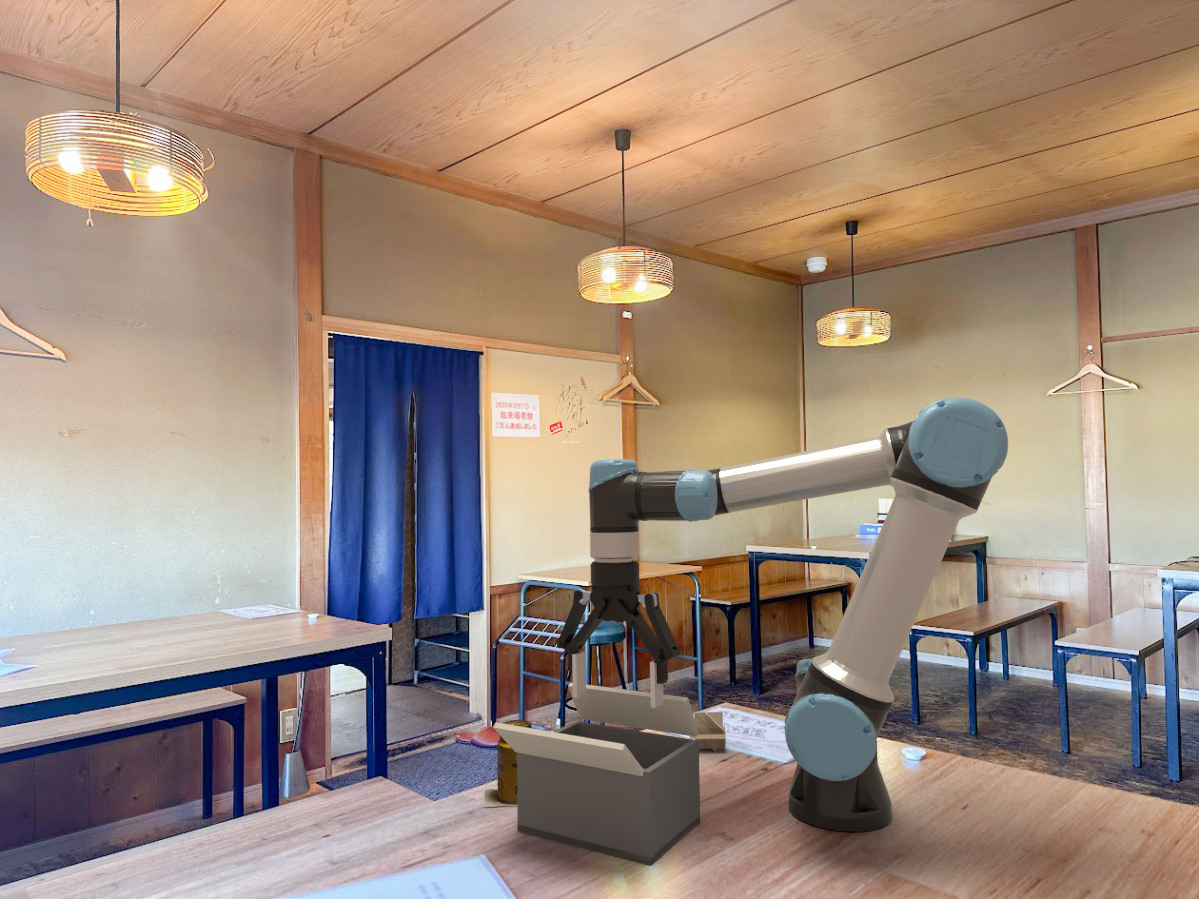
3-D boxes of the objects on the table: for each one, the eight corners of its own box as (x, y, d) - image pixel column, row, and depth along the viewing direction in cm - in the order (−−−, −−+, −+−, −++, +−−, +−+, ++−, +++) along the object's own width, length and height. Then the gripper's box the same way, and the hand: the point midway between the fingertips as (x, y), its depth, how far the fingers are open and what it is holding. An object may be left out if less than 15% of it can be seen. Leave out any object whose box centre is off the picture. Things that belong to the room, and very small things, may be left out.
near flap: (624, 744, 100) (622, 750, 100) (644, 770, 104) (642, 776, 104) (495, 722, 111) (493, 727, 110) (517, 747, 115) (515, 752, 114)
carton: (700, 822, 117) (698, 740, 118) (650, 865, 103) (649, 772, 104) (576, 795, 128) (576, 721, 129) (517, 831, 115) (517, 747, 116)
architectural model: (727, 756, 149) (726, 716, 149) (690, 757, 149) (690, 717, 149) (724, 750, 152) (723, 711, 153) (688, 751, 152) (688, 712, 153)
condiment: (537, 804, 125) (537, 728, 126) (484, 808, 124) (484, 731, 125) (535, 788, 132) (534, 716, 133) (484, 791, 131) (484, 718, 132)
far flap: (696, 737, 119) (698, 733, 119) (686, 701, 116) (688, 697, 117) (580, 718, 129) (582, 715, 130) (568, 685, 127) (570, 682, 127)
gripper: (699, 560, 118) (702, 704, 116) (560, 556, 130) (562, 686, 129) (677, 563, 111) (681, 716, 110) (534, 559, 124) (535, 696, 122)
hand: (617, 700), depth 119 cm, fingers open, 13 cm apart
